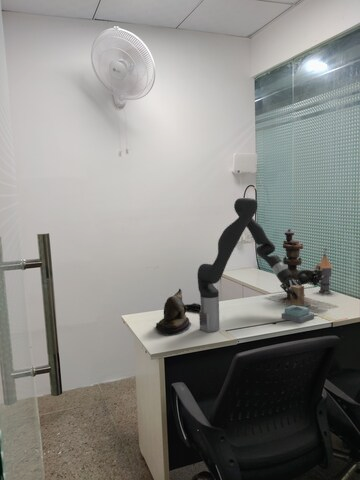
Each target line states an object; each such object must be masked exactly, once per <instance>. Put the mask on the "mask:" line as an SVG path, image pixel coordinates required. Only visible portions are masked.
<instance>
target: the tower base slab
mask: <svg viewBox="0 0 360 480" xmlns="http://www.w3.org/2000/svg"><path fill="white" fill-rule="evenodd" d="M281 319H285V320H287V321H291V322H295V323H299V324H302V323H305V322H308V321H310V320H314V319H315V313H314V312H309V314H307V315H304V316H301V317H295V316H292V315H288V314H285V312H282V313H281Z"/></svg>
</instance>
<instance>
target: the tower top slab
mask: <svg viewBox="0 0 360 480" xmlns="http://www.w3.org/2000/svg"><path fill="white" fill-rule="evenodd" d="M302 306H303V305H302ZM302 306H295V305H293V306H290V305H289V306H288V307H284V313H285V314H288V315H292V316H295V317H301V316H304V315H307V314H309V313H310V311H309V308H306V307H305V306H304V307H302Z"/></svg>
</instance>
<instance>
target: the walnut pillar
mask: <svg viewBox="0 0 360 480" xmlns="http://www.w3.org/2000/svg"><path fill="white" fill-rule="evenodd" d="M292 289H293V290H294V292H295V293H296V295H297V296H298V298H297V299H294V298H293V296H292V295H291V294H290V304H291V305H295V306H301V305H302V306H305V305H304V297H305V296H304V294H305V286H304V285H302V286H301V285H293V286H292ZM290 290H291V289H290Z"/></svg>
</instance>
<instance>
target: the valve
mask: <svg viewBox="0 0 360 480" xmlns="http://www.w3.org/2000/svg"><path fill="white" fill-rule="evenodd" d="M284 235H285V240H283V243H282V248H283V249H285V256H284V257H283V259H282V262H283V263H284V264H285V265H286V266H287V268H288V269H289V271H290V272H291V273H292V278H293V279H295V280H297V279H299V281H300V283H301V285H302V286H304V285H307V284H308V283H312V284H313V285H314V286H317V285H319V283H320V280H322V279H323V277H322V275H323V274H322V270H321V268H320V266H318V269H317V270H316V269H315V268H313V269H305V268H303V269H300V270H298V269H297V268H298V267H297V266H301V265H302V264H303V262H302V261H303V259H302V258H301V256H300V251H301V250H303V248H304V244H303V243H300V242H299V240H298V239H293V236H294V235H295V232H294V231H292V229H291V228H288V229H287V231H284ZM286 290H287V289H286ZM287 291H288V290H287ZM264 299H266V300H270V301H273V302H277V303H280V304H285V305H286V306H287V305H288V306H289V307H290V306H293V305H291V304H290V293H288V294H287V293H286V292H283V293H278V294H274V295H270V296H266V297H264ZM301 306H302V307H306V308H309V312H311V313H316V314H321V313H324V312H328V310H334V309H338V308H340V306H338V305H337V304H332V303H329V302H325V301H320V300H316V299H313V298H311V297H306V296H304V305H301Z"/></svg>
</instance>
